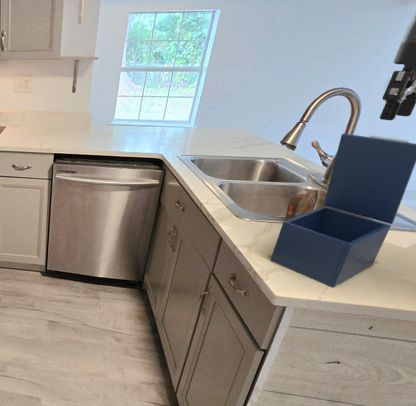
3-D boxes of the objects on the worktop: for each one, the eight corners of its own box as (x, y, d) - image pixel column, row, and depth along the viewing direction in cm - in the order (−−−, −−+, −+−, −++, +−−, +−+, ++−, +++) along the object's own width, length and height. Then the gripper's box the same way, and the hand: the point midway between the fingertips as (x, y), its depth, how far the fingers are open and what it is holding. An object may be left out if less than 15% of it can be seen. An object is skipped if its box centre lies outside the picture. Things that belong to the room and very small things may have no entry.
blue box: (333, 287, 80) (352, 245, 76) (269, 260, 91) (283, 222, 86) (372, 265, 88) (391, 225, 83) (309, 242, 98) (323, 206, 94)
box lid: (420, 146, 74) (434, 135, 75) (341, 134, 84) (355, 125, 86) (391, 224, 83) (404, 213, 85) (323, 205, 93) (336, 195, 95)
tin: (292, 225, 107) (302, 199, 104) (280, 221, 110) (288, 196, 106) (313, 213, 114) (322, 188, 111) (301, 209, 117) (309, 185, 113)
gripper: (442, 40, 71) (404, 124, 77) (468, 39, 76) (431, 117, 83) (388, 41, 77) (358, 118, 83) (416, 39, 82) (386, 112, 89)
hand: (394, 117), depth 83 cm, fingers open, 8 cm apart
